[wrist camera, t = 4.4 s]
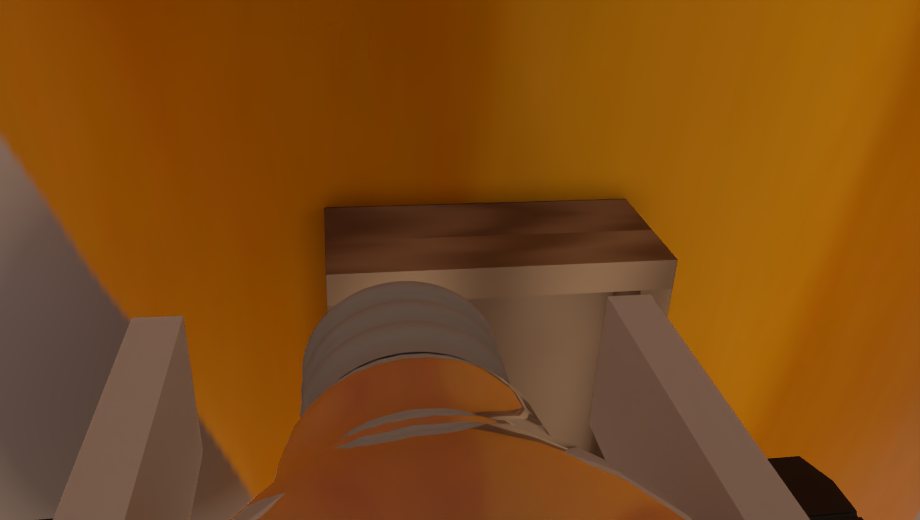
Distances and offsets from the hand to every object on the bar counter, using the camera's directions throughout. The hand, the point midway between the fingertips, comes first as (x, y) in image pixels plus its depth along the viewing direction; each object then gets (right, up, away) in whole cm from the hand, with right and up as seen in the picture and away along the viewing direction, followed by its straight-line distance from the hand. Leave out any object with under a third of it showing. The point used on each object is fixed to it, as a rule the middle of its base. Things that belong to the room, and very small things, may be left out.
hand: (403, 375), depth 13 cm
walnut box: (+2, -1, +22) cm, 22 cm away
